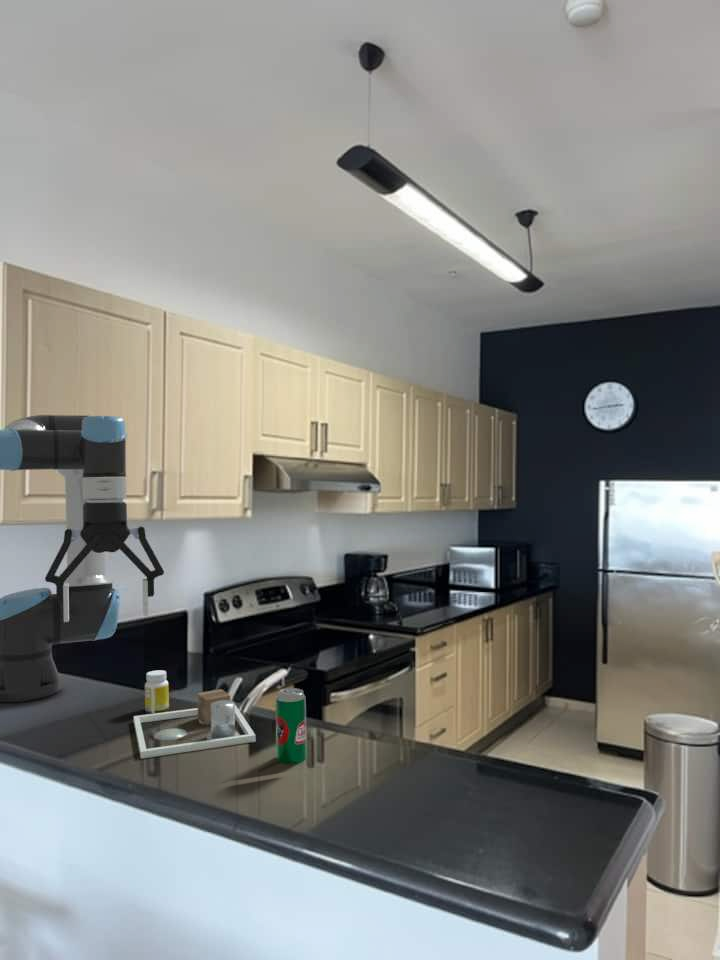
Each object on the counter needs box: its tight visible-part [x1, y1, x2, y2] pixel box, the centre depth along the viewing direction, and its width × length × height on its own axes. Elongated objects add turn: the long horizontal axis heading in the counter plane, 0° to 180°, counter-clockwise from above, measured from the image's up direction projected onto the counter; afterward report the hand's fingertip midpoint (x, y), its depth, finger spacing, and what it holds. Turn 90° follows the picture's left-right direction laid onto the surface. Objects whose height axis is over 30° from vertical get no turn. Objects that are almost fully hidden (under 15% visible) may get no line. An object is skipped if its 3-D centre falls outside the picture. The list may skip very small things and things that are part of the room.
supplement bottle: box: [144, 669, 170, 714], centre depth 148 cm, size 5×5×8 cm
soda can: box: [275, 687, 308, 765], centre depth 122 cm, size 5×5×12 cm
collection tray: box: [133, 704, 257, 760], centre depth 135 cm, size 20×20×2 cm
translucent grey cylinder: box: [210, 699, 236, 739], centre depth 132 cm, size 4×4×6 cm
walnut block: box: [197, 688, 231, 726], centre depth 142 cm, size 5×5×5 cm
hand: (106, 617), depth 130 cm, fingers open, 13 cm apart
